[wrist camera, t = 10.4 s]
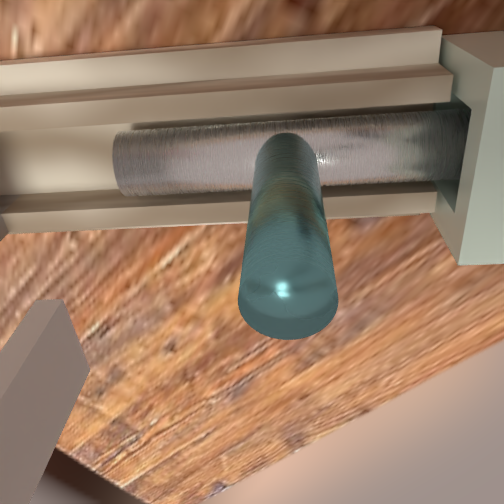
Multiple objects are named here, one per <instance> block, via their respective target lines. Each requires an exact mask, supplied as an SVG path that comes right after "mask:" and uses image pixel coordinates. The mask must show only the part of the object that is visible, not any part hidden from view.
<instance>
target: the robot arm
mask: <svg viewBox="0 0 504 504" xmlns="http://www.w3.org/2000/svg"><path fill="white" fill-rule="evenodd" d="M89 372H90V368H89V365H88V363H87V360H86V358H85V355H84V352H83V350H82V347H81V345H80V342H79V340H78V337H77V334H76V332H75V329H74V327H73V324H72V322H71V319H70V316H69V314H68V311H67V309H66V306H65V303H64V301H63V299H56V300H36V301H35V302H34V304H33V305H32V307H31V308H30V310H29V311H28V313H27V314H26V315H25V317H24V318H23V320H22V321H21V323H20V324H19V326H18V327H17V328H16V330H15V331H14V333H13V334H12V336H11V337H10V338H9V340H8V341H7V343H6V344H5V346H4V347H3V349H2V350H1V351H0V504H29V503H30V500H31V498H32V496H33V494H34V492H35V489H36V487H37V485H38V483H39V481H40V479H41V476H42V474H43V472H44V470H45V468H46V466H47V463H48V461H49V459H50V457H51V454H52V452H53V450H54V448H55V446H56V444H57V441H58V439H59V437H60V435H61V433H62V431H63V428H64V426H65V424H66V422H67V420H68V417H69V415H70V413H71V411H72V409H73V407H74V404H75V402H76V400H77V398H78V396H79V393H80V391H81V389H82V387H83V385H84V382H85V380H86V378H87V376H88V374H89Z"/></svg>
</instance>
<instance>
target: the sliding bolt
mask: <svg viewBox="0 0 504 504" xmlns="http://www.w3.org/2000/svg"><path fill="white" fill-rule="evenodd" d="M471 111H472V109H471V108H464V109H449V110H434V111H419V112H404V113H388V114H373V115H358V116H343V117H328V118H312V119H297V120H282V121H267V122H251V123H236V124H221V125H206V126H191V127H175V128H160V129H145V130H130V131H119V132H118V133H117V134H116V135H115V138H114V141H113V149H112V161H113V169H114V175H115V179H116V182H117V185H118V187H119V189H120V191H121V193H122V194H123V195H124V196H126V197H128V196H147V195H166V194H185V193H204V192H223V191H242V190H252V193H251V200H250V208H249V216H248V224H247V232H246V240H245V248H244V256H243V263H242V271H241V279H240V287H239V295H238V306H239V310H240V313H241V315H242V317H243V318H244V320H245V321H246V322H247V323H248V324H249V325H250V326H251V327H252V328H253V329H254V330H256V331H258V332H259V333H261V334H263V335H266V336H268V337H271V338H276V339H283V340H293V339H301V338H305V337H308V336H311V335H313V334H315V333H317V332H319V331H320V330H322V329H323V328H325V327H326V326H327V325H328V324H329V323H330V322H331V320H332V319H333V317H334V316H335V313H336V311H337V307H338V293H337V287H336V280H335V274H334V268H333V261H332V255H331V248H330V242H329V236H328V229H327V223H326V216H325V210H324V204H323V197H322V191H321V186H337V185H356V184H375V183H394V182H413V181H432V180H451V179H460V177H461V171H462V165H463V159H464V153H465V147H466V141H467V135H468V129H469V123H470V117H471Z"/></svg>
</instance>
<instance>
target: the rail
mask: <svg viewBox="0 0 504 504" xmlns="http://www.w3.org/2000/svg"><path fill="white" fill-rule="evenodd" d="M441 37H442V29H440V28H438V27H436V26H434V25H433V26H420V27H408V28H396V29H384V30H371V31H359V32H347V33H334V34H322V35H310V36H298V37H285V38H273V39H261V40H249V41H236V42H224V43H212V44H200V45H187V46H175V47H163V48H151V49H138V50H126V51H114V52H102V53H89V54H77V55H65V56H53V57H40V58H28V59H16V60H4V61H0V241H1V240H2V239H3V238H4V237H5V236H6V235H7V234H20V233H42V232H63V231H85V230H107V229H128V228H150V227H171V226H193V225H214V224H236V223H248V216H249V208H250V200H251V193H252V190H242V191H223V192H204V193H185V194H166V195H147V196H128V197H126V196H124V195H123V194H122V193H121V191H120V189H119V187H118V185H117V182H116V179H115V175H114V169H113V161H112V149H113V141H114V138H115V135H116V134H117V133H118V132H119V131H130V130H145V129H160V128H175V127H191V126H206V125H221V124H236V123H251V122H267V121H282V120H297V119H312V118H328V117H343V116H358V115H373V114H388V113H404V112H419V111H433V103H437V102H450V97H451V90H452V83H453V74H452V73H451V72H449V71H448V70H447V69H445V68H444V67H443V66H442V65H440V64H439V63H438V62H439V53H440V45H441ZM321 191H322V197H323V204H324V210H325V216H326V219H344V218H365V217H387V216H408V215H420V213H434V212H435V205H436V198H437V191H436V189H435V187H434V186H433V184H432V183H431V181H413V182H394V183H375V184H356V185H337V186H321Z"/></svg>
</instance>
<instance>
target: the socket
mask: <svg viewBox="0 0 504 504" xmlns="http://www.w3.org/2000/svg"><path fill="white" fill-rule="evenodd" d="M438 63H439V64H440V65H442V66H443V67H444V68H445V69H447V70H448V71H449V72H451V73H452V74H453V83H452V90H451V97H450V102H437V103H433V111H434V110H449V109H464V108H471V109H472V111H471V117H470V123H469V129H468V135H467V141H466V147H465V153H464V159H463V165H462V171H461V177H460V179H451V180H432V181H431V183H432V184H433V186H434V187H435V189H436V191H437V198H436V205H435V212H434V213H430V215H431V217H432V219H433V221H434V222H435V224H436V226H437V228H438V230H439V232H440V233H441V235H442V237H443V239H444V241H445V243H446V244H447V246H448V248H449V250H450V252H451V254H452V255H453V257H454V259H455V261H456V263H457V265H483V264H504V31H491V32H479V33H466V34H454V35H442V37H441V45H440V53H439V62H438Z"/></svg>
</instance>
